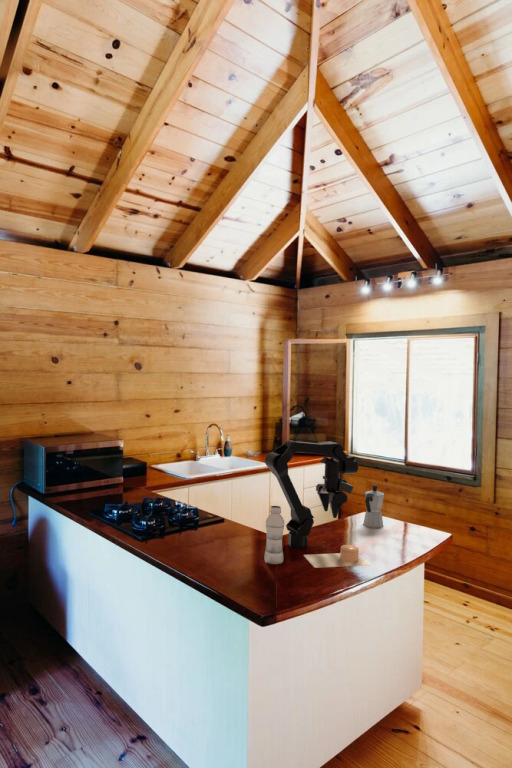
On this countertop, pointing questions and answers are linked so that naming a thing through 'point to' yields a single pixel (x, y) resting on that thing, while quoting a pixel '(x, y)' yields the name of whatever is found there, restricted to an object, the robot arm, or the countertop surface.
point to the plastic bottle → (274, 536)
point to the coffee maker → (373, 508)
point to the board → (331, 560)
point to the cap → (349, 553)
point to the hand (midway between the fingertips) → (330, 514)
